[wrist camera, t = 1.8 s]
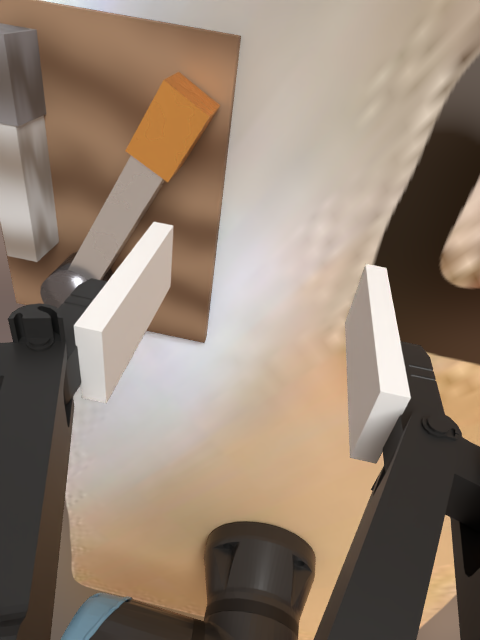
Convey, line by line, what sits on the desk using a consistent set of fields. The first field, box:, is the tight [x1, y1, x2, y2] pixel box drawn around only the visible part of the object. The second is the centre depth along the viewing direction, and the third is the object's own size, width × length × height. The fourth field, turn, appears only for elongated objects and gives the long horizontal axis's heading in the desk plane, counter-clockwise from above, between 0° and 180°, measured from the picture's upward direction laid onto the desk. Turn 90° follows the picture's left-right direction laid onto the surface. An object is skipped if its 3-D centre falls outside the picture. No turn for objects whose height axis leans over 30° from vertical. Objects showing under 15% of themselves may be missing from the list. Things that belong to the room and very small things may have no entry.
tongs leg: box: [40, 72, 220, 308], centre depth 33 cm, size 20×4×4 cm, turn 144°
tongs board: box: [0, 0, 241, 343], centre depth 34 cm, size 24×18×4 cm
